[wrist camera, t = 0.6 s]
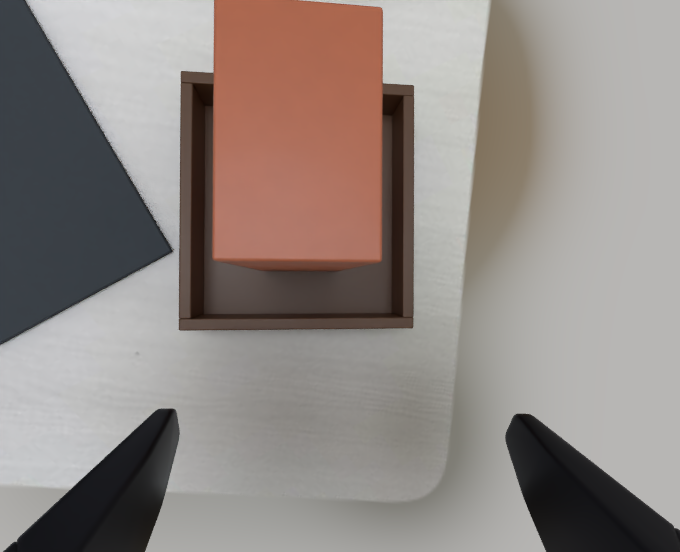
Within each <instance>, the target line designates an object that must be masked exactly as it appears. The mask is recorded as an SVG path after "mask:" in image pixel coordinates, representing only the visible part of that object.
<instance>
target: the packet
mask: <svg viewBox="0 0 680 552" xmlns="http://www.w3.org/2000/svg"><path fill="white" fill-rule="evenodd" d="M382 98H383V10H382V8H381V7H371V6H359V5H347V4H335V3H323V2H311V1H299V0H214V93H213V229H212V258H213V260H214V261H217V262H222V263H227V264H232V265H237V266H242V267H247V268H252V269H256V270H261V271H341V270H346V269H351V268H355V267H360V266H365V265H370V264H375V263H379V262H381V260H382Z"/></svg>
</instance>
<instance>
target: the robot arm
mask: <svg viewBox="0 0 680 552" xmlns="http://www.w3.org/2000/svg"><path fill="white" fill-rule="evenodd" d="M179 434H180V431H179V424H178V418H177V413H176V410H175V409H158V410H156V411H155V412H154V413H153V414H152V415H150V416H149V417H148V418H147V419H146V420H145V421H144V422H143V423H142V424H141V425H140V426H139V427H138V428H136V429H135V430H134V431H133V432H132V433H131V434H130V435H129V436H128V437H127V438H126V439H125V440H123V441H122V442H121V443H120V444H119V445H118V446H117V447H116V448H115V449H114V450H113V451H112V452H111V453H109V454H108V455H107V456H106V457H105V458H104V459H103V460H102V461H101V462H100V463H99V464H98V465H96V466H95V467H94V468H93V469H92V470H91V471H90V472H89V473H88V474H87V475H86V476H85V477H84V478H82V479H81V480H80V481H79V482H78V483H77V484H76V485H75V486H74V487H73V488H72V489H71V490H69V491H68V492H67V493H66V494H65V495H64V496H63V497H62V498H61V499H60V500H59V501H58V502H57V503H55V504H54V505H53V506H52V507H51V508H50V509H49V510H48V511H47V512H46V513H45V514H44V515H43V516H42V517H40V518H39V519H38V520H37V521H36V522H35V523H34V524H33V525H32V526H31V527H30V528H28V529H27V530H26V531H25V532H24V533H23V534H22V535H21V536H20V537H19V538H18V540H17V542H13V543H12V544H11V545H10V546H9V547H8V548H7V549H6V550H4V551H3V552H145V550H146V547H147V544H148V542H149V539H150V536H151V534H152V531H153V528H154V526H155V523H156V520H157V517H158V515H159V512H160V509H161V506H162V503H163V499H164V496H165V492H166V488H167V484H168V480H169V476H170V472H171V468H172V464H173V461H174V457H175V453H176V449H177V445H178V441H179ZM505 438H506V444H507V447H508V450H509V454H510V457H511V460H512V463H513V466H514V469H515V472H516V476H517V479H518V482H519V485H520V488H521V491H522V494H523V497H524V500H525V502H526V504H527V507H528V510H529V512H530V514H531V517H532V519H533V522H534V524H535V526H536V529H537V531H538V533H539V536H540V538H541V540H542V543H543V545H544V547H545V550H546V552H680V530H678V529H676V528H674V526H673V525H672V524H671V523H669V522H668V521H667V520H666V519H664V518H663V517H662V516H660V515H659V514H658V513H656V512H655V511H654V510H653V509H651V508H650V507H649V506H648V505H646V504H645V503H644V502H643V501H641V500H640V499H639V498H637V497H636V496H635V495H633V494H632V493H631V492H630V491H628V490H627V489H626V488H625V487H623V486H622V485H621V484H619V483H618V482H617V481H616V480H614V479H613V478H612V477H610V476H609V475H608V474H607V473H605V472H604V471H603V470H602V469H600V468H599V467H598V466H597V465H595V464H594V463H593V462H591V461H590V460H589V459H588V458H586V457H585V456H584V455H582V454H581V453H580V452H579V451H577V450H576V449H575V448H573V447H572V446H571V445H570V444H568V443H567V442H566V441H564V440H563V439H562V438H561V437H559V436H558V435H557V434H556V433H554V432H553V431H552V430H550V429H549V428H548V427H546V426H545V425H544V424H543V423H542V422H540V421H539V420H538V419H536V418H535V417H534V416H532V415H530V414H516V415H514V416H513V418H512V421H511V423H510V425H509V427H508V429H507V432H506V437H505Z"/></svg>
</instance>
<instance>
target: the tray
mask: <svg viewBox="0 0 680 552" xmlns="http://www.w3.org/2000/svg"><path fill="white" fill-rule="evenodd" d="M213 93H214V73H204V72H188V71H181V125H180V249H179V318H180V319H179V330H281V329H383V328H413V270H414V86H413V85H399V84H383V98H382V260H381V262H379V263H375V264H370V265H365V266H360V267H355V268H351V269H346V270H341V271H261V270H256V269H252V268H247V267H242V266H237V265H232V264H227V263H222V262H217V261H214V260H213V258H212V229H213Z"/></svg>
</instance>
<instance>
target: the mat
mask: <svg viewBox="0 0 680 552" xmlns="http://www.w3.org/2000/svg"><path fill="white" fill-rule="evenodd" d="M171 252H172V249H171V248H170V246H169V244H168V243H167V241H166V239H165V237H164V236H163V234H162V232H161V231H160V229H159V227H158V226H157V224H156V222H155V220H154V219H153V217H152V215H151V214H150V212H149V210H148V209H147V207H146V205H145V204H144V202H143V200H142V198H141V197H140V195H139V193H138V192H137V190H136V188H135V187H134V185H133V183H132V181H131V180H130V178H129V176H128V175H127V173H126V171H125V170H124V168H123V166H122V165H121V163H120V161H119V159H118V158H117V156H116V154H115V153H114V151H113V149H112V148H111V146H110V144H109V142H108V141H107V139H106V137H105V136H104V134H103V132H102V131H101V129H100V127H99V126H98V124H97V122H96V120H95V119H94V117H93V115H92V114H91V112H90V110H89V109H88V107H87V105H86V103H85V102H84V100H83V98H82V97H81V95H80V93H79V92H78V90H77V88H76V87H75V85H74V83H73V81H72V80H71V78H70V76H69V75H68V73H67V71H66V70H65V68H64V66H63V64H62V63H61V61H60V59H59V58H58V56H57V54H56V53H55V51H54V49H53V48H52V46H51V44H50V42H49V41H48V39H47V37H46V36H45V34H44V32H43V31H42V29H41V27H40V25H39V24H38V22H37V20H36V19H35V17H34V15H33V14H32V12H31V10H30V9H29V7H28V5H27V3H26V2H25V0H0V344H2V343H4V342H6V341H8V340H9V339H11V338H13V337H15V336H17V335H19V334H21V333H22V332H24V331H26V330H28V329H30V328H32V327H33V326H35V325H37V324H39V323H41V322H43V321H45V320H46V319H48V318H50V317H52V316H54V315H56V314H58V313H59V312H61V311H63V310H65V309H67V308H69V307H71V306H72V305H74V304H76V303H78V302H80V301H82V300H84V299H85V298H87V297H89V296H91V295H93V294H95V293H97V292H98V291H100V290H102V289H104V288H106V287H108V286H110V285H111V284H113V283H115V282H117V281H119V280H121V279H123V278H124V277H126V276H128V275H130V274H132V273H134V272H135V271H137V270H139V269H141V268H143V267H145V266H147V265H148V264H150V263H152V262H154V261H156V260H158V259H160V258H161V257H163V256H165V255H167V254H169V253H171Z"/></svg>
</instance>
